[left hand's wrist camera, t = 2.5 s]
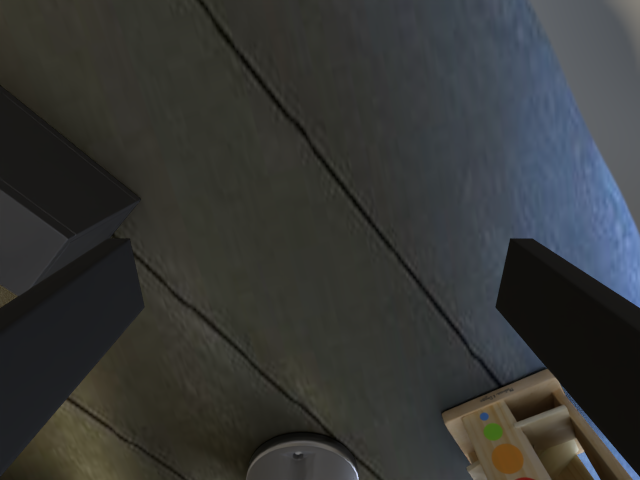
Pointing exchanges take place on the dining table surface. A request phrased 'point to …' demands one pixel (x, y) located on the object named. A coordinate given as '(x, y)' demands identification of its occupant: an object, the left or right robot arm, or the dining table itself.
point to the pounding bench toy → (529, 435)
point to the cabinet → (49, 199)
